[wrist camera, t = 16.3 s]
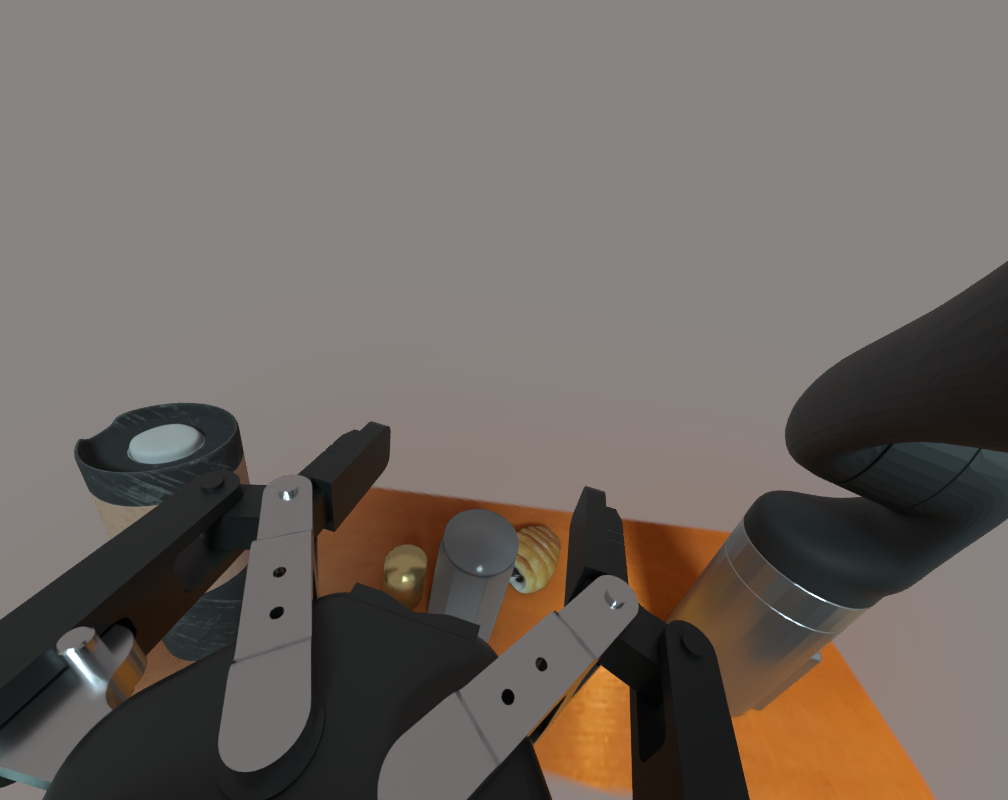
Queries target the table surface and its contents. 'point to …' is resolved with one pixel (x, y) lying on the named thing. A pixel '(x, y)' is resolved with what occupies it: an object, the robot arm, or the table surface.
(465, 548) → the canister
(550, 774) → the table surface
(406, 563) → the gold cylinder
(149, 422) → the travel mug
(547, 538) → the pastry
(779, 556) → the robot arm
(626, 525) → the table surface
